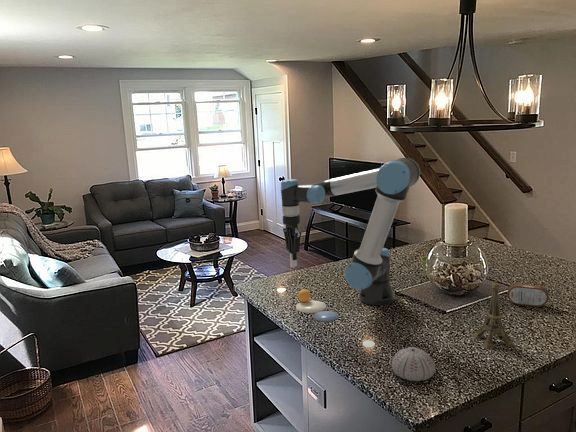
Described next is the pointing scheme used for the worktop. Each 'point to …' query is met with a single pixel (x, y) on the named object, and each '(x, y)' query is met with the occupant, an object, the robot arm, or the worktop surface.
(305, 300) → the ball
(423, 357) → the sea urchin shell
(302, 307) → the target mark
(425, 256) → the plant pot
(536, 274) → the worktop surface
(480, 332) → the eiffel tower
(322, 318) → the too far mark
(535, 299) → the tin
